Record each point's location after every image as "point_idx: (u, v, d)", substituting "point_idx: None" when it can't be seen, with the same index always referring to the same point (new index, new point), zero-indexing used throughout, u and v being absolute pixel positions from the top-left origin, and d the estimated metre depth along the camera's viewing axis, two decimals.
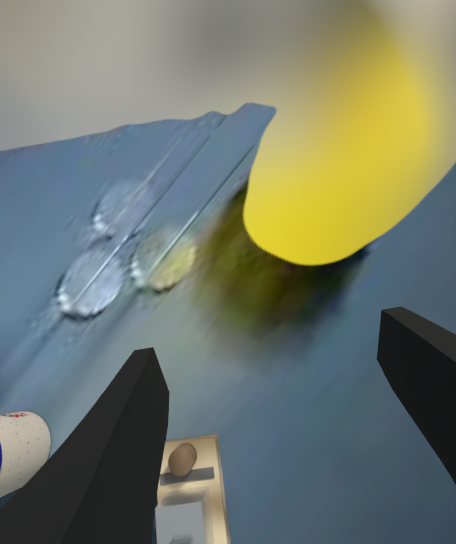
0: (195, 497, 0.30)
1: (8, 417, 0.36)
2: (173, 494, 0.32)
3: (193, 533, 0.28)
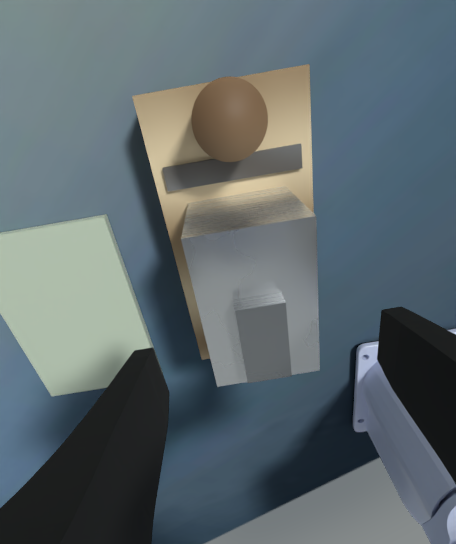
0: (283, 209, 0.11)
1: None
2: (210, 208, 0.13)
3: (290, 283, 0.11)
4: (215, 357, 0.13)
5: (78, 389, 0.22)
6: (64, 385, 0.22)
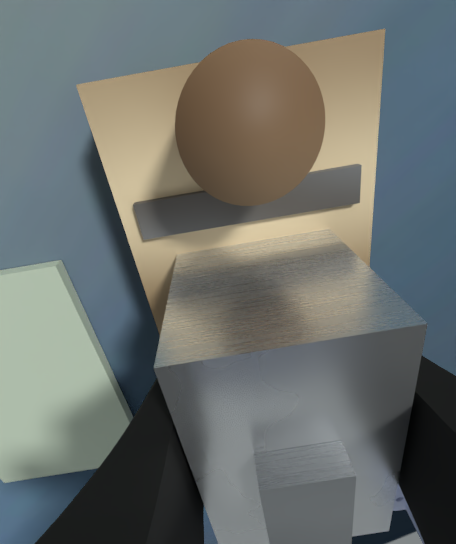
0: (346, 291, 0.06)
1: None
2: (211, 272, 0.08)
3: (360, 427, 0.06)
4: (220, 523, 0.08)
5: (38, 474, 0.17)
6: (19, 470, 0.16)
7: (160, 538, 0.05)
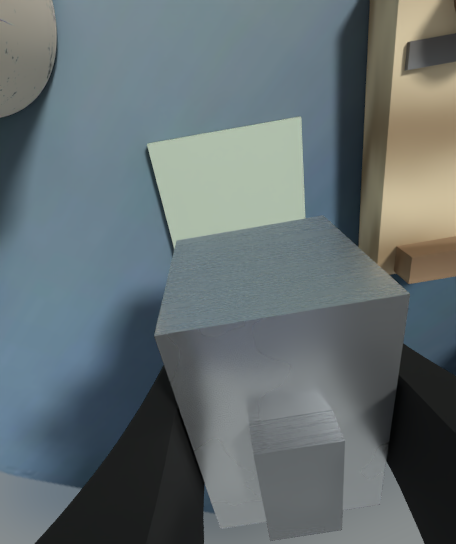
0: (336, 268, 0.06)
1: None
2: (209, 255, 0.08)
3: (349, 397, 0.06)
4: (217, 495, 0.08)
5: None
6: None
7: (160, 538, 0.05)
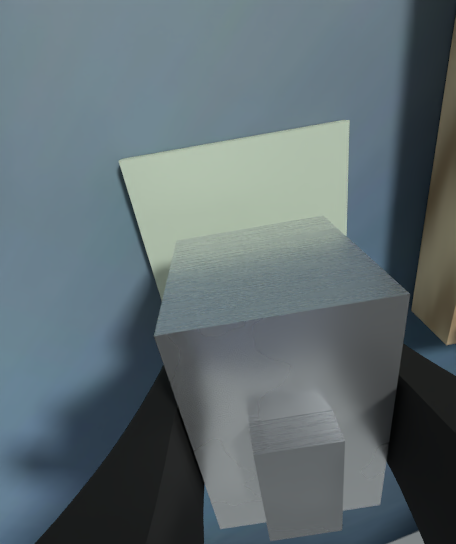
0: (336, 268, 0.06)
1: None
2: (209, 255, 0.08)
3: (349, 397, 0.06)
4: (217, 495, 0.08)
5: None
6: None
7: (160, 538, 0.05)
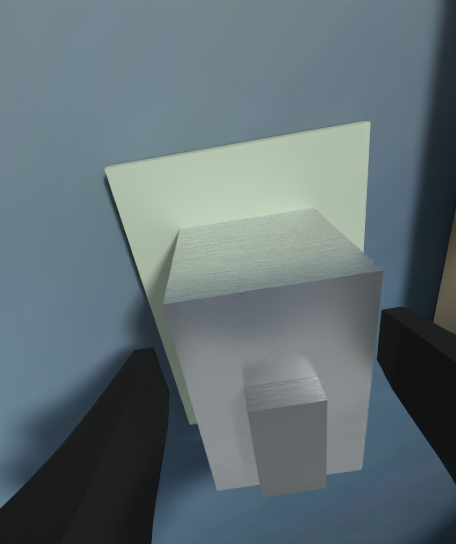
0: (322, 251, 0.07)
1: None
2: (210, 241, 0.09)
3: (333, 364, 0.07)
4: (215, 457, 0.09)
5: None
6: None
7: None
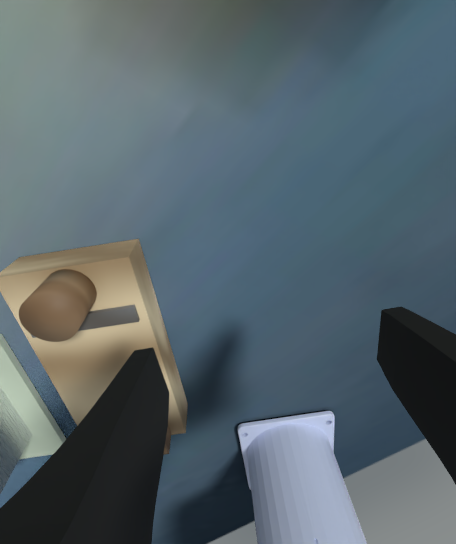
0: None
1: None
2: None
3: None
4: None
5: None
6: None
7: None
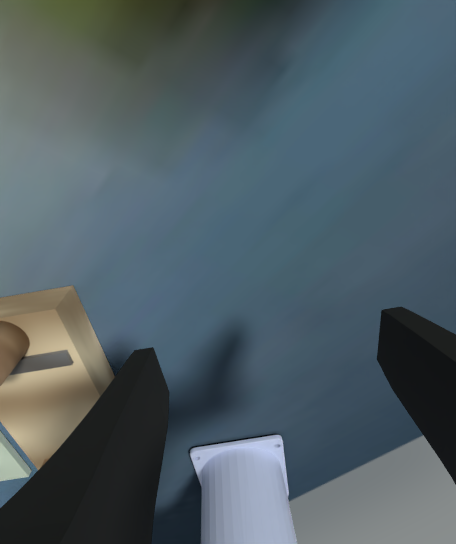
0: None
1: None
2: None
3: None
4: None
5: None
6: None
7: None
